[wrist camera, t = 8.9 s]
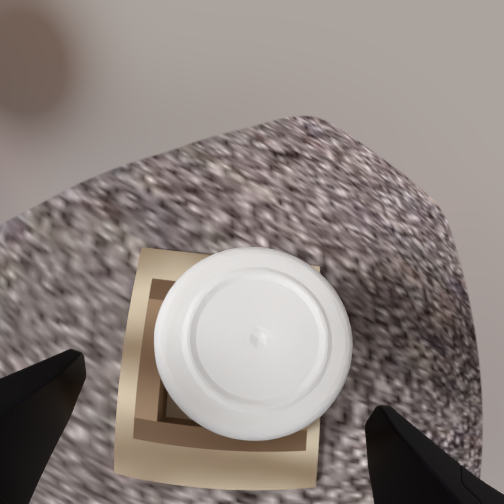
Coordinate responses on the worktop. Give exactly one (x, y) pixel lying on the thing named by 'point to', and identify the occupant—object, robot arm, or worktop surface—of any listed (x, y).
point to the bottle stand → (178, 423)
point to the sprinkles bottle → (253, 343)
